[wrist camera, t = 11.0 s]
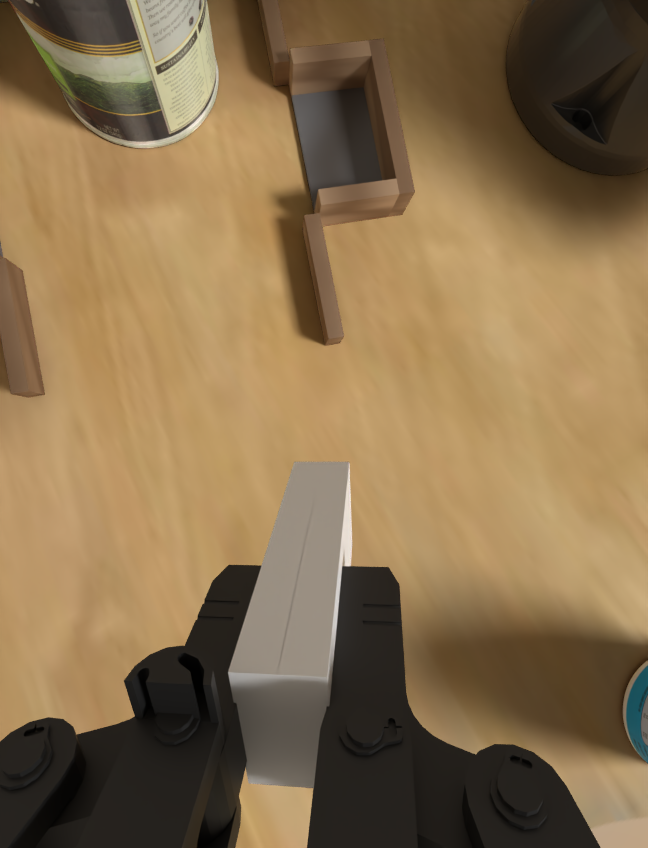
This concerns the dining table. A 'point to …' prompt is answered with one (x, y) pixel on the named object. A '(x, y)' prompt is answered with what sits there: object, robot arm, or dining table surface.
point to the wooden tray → (324, 162)
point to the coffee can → (128, 64)
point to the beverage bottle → (637, 711)
